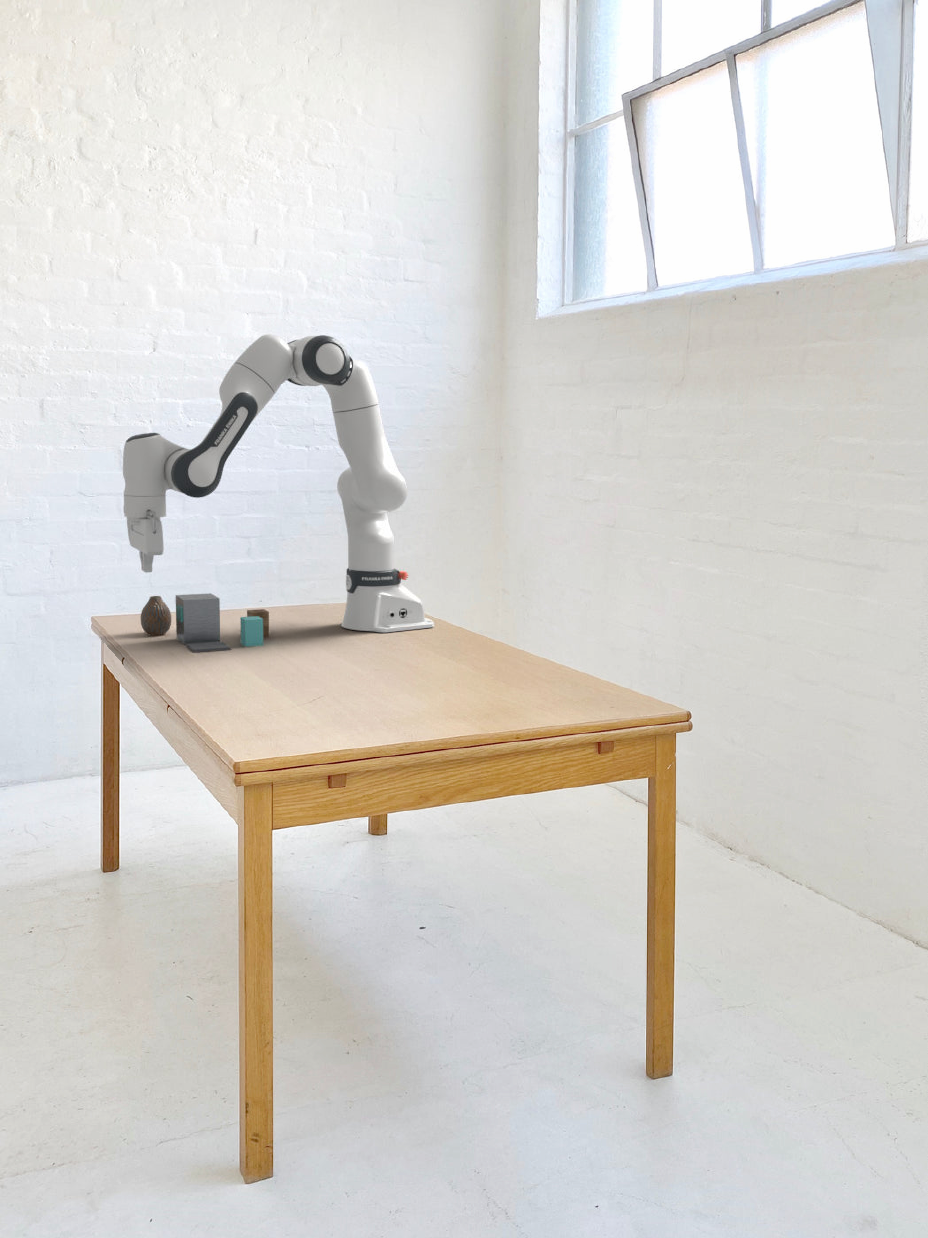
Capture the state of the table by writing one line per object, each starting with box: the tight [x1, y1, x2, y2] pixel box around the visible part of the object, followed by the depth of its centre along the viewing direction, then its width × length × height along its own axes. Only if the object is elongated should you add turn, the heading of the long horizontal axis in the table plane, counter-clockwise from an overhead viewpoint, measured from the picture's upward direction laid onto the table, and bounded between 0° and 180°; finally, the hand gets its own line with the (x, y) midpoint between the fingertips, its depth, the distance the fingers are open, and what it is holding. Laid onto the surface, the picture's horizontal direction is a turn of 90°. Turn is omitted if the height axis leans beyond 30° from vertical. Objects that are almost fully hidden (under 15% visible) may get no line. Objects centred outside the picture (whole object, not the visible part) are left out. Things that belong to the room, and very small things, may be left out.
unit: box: [175, 593, 221, 646], centre depth 268 cm, size 8×8×10 cm
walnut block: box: [246, 608, 270, 639], centre depth 275 cm, size 4×4×6 cm
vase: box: [140, 595, 172, 636], centre depth 276 cm, size 7×7×9 cm
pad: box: [186, 640, 232, 653], centre depth 261 cm, size 8×7×1 cm
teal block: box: [239, 616, 264, 648], centre depth 265 cm, size 4×4×6 cm
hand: (146, 571), depth 262 cm, fingers closed
